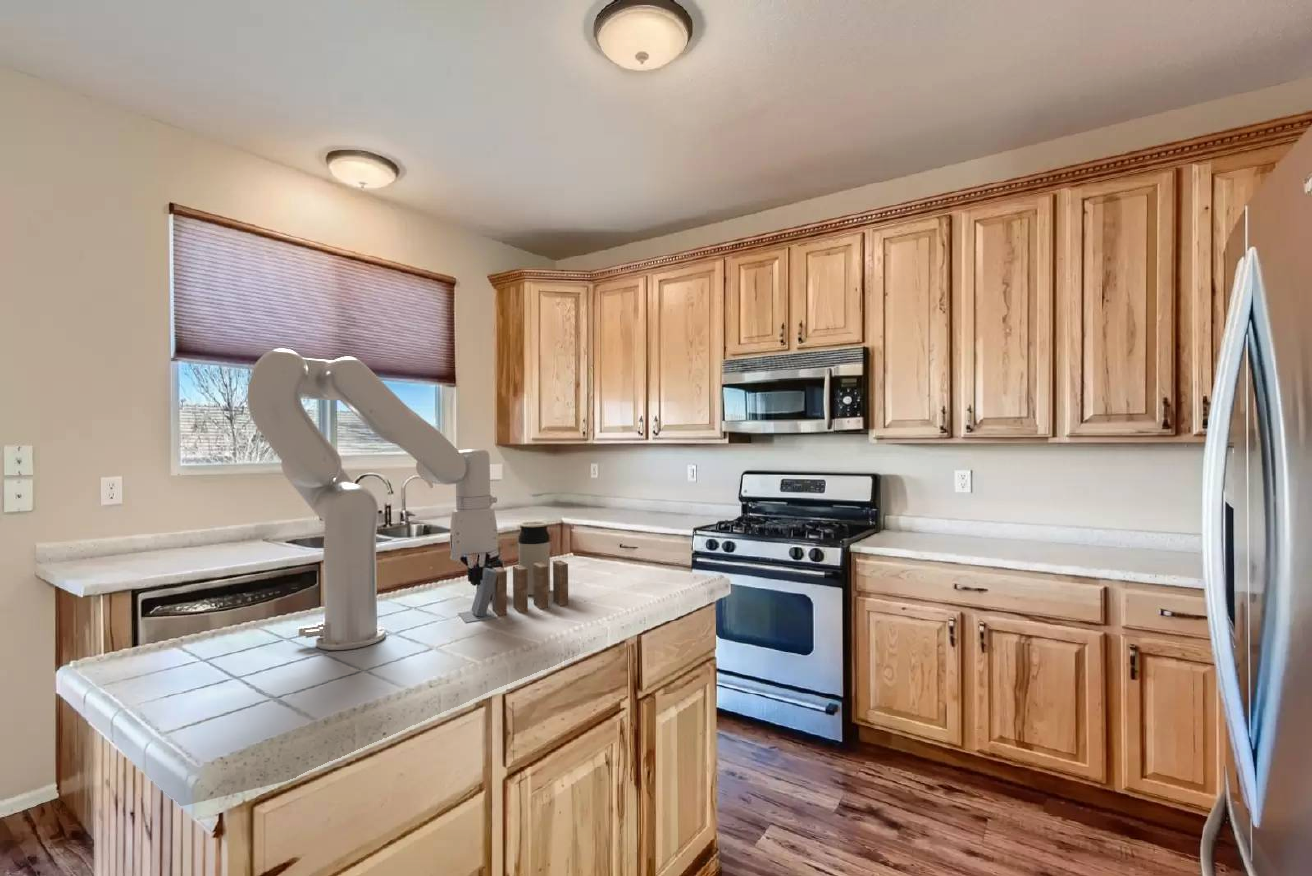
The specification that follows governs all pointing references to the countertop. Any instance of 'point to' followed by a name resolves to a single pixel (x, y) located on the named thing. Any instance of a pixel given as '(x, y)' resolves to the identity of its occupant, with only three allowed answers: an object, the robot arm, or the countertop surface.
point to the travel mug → (534, 548)
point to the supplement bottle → (494, 563)
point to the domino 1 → (484, 592)
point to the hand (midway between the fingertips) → (475, 583)
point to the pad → (472, 617)
